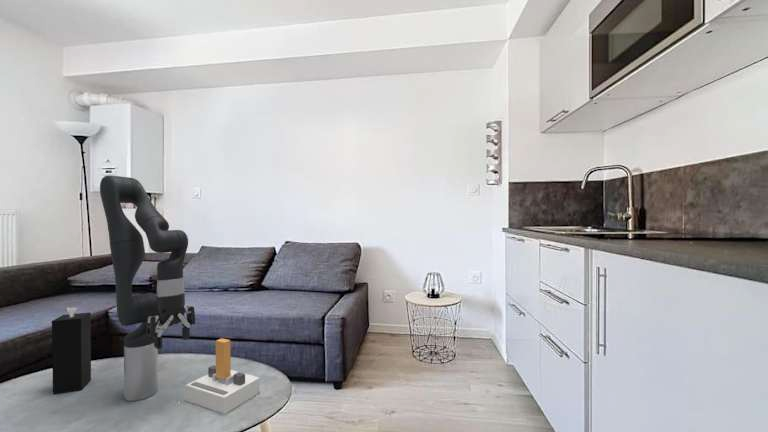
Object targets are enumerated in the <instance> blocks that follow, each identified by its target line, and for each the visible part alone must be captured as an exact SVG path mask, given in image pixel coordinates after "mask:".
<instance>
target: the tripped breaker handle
mask: <svg viewBox="0 0 768 432" xmlns="http://www.w3.org/2000/svg"><path fill="white" fill-rule="evenodd" d="M215 366H216V377H217V378H218V379H221V380H225V378H227V377H229V376H231V370H232V369H231V367H232V365H231V339H226V338H219V339H217V340H215Z"/></svg>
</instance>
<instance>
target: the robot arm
mask: <svg viewBox="0 0 768 432" xmlns="http://www.w3.org/2000/svg"><path fill="white" fill-rule="evenodd" d="M99 194H100V198H101V202H102V207H103V211H104V215H105V219H106V224H107V231H108V241H109V249H110V254H111V255H110V256H111V260H112V268H113V272H114V281H115V301H116V302H115V303H116V315H117V319H118V322H119V323H120V324H121V326H123V327H129V326H133V325H137V324H140V325H139V326H138V327H136V329H134V330H133V331H131V332H129V333H128V334H126V335H125V337H124V338H123V381H124V382H123V394H124V395H123V398H124V400H125V401H128V402H134V401H140V400H145V399H147V398H150V397H152V396H154V395H155V394H156V393H157V392H158V391H159V369H158V368H159V365H158V364H159V361H158V357H159V355H158V354H159V353H158V350H161V349H163V336H162V335H163V333H164V332H165V331H166V330H167V328H168V327H172V326H173V325H178V324H179V325H180V326H182V328H181V335H182V340H183V341H184V340H185V341H187V340H189V338H190V336H191V335H190V334H191V333H190V327H191V326H192V325H195V324H196V313H195V307H194V306H193V305H192V306H190V305H187V306H186V295H185V294H186V293H185V291H186V290H185V281H184V267H183V266H184V261H185V258H186V253H187V250H188V247H189V238H188V235H187V233H186V232H185V231H184V230H180V229H172V230H171V229H170V224H169V222H168V221H167V220H166V219H165V217H164V216H163V215H162V214H161V213H160V212H159V211H158V209H157V208H156V207H155V205H154V204H153V202H152V200H151V199H150V196H149V195H148V193H147V192H146V190H145V188H144V186H143V184H142V183H141V182H140V180H138V179H136V178H134V177H128V176H118V175H109V174H108V175H105V176H103V177H102V179H101V180H100V183H99ZM121 203H122V204H132V205H134V207H136V209H135V213H134V219H135V222H136V224H137V225H138V227H140V229H141V230H142V231H143V232H144V233H145V235H146V239H147V242H148V246H149V249H151V250H152V251H153V252H155V253H157V254H167V253H170V255H169V257H168V258H166V259H163V260H160V261H159V262H158V263H157V265H156V273H157V275H156V277H157V278H156V279H157V282H156V283H157V284H156V294H155V293H154V292H146V293H142V294H136V295H135V294H134V295H133V294H132V290H133V289H132V286H133V281H134V280H135V279H134V278H135V276H136V274H137V272H138V271H139V269H140V267H141V266H142V264H143V262H144V259H145V256H146V250H145V242H144V239H143V237H144V236H143V235H142V233H141V232H140V231H139V230H138V228H137V227H136V226H135V225H134V224H133V223H132V221H130V219H129V218H128V217H127V216H126V215H125V213H124V210H123V208H122V205H121ZM169 229H170V230H169ZM185 306H186V307H185ZM185 314H186V318H185Z"/></svg>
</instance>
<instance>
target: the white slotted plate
mask: <svg viewBox="0 0 768 432" xmlns="http://www.w3.org/2000/svg"><path fill="white" fill-rule="evenodd" d="M207 368H208V370H207V373H208V374H205V375H203V376H201V377H199V378H197V379H196V380H193V381H191V382H189V383H187V384H184V385H185V387H184V388H185V394H184V395H185V397H184V399H185V400H184V401H186V402H188V403H192V404H194V405H197V406H199V407H203V408H206V409H209V410H212V411H214V412H216V413H219V414H223V415H226V414H227V413H228V412H229V413H230V412H231V411H233V410H234V409H235V408H237V407H239V406H241V404H244V403H245V402H247V401H249V400H250V399H251V398H253V397H255V396H256V395H258V394H260V393H261V389H260V388H261V387H260V385H261V384H260V383H261V381H260V380H261V377H259V376H257V375H251V374H248V373H243V372H240V371H237V370H233V369H231V376H229V377H227V378H225V380H221V379H218V378H217V377H216V365H214V364H213V365H211V366H209V367H207Z"/></svg>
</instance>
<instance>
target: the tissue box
mask: <svg viewBox="0 0 768 432" xmlns="http://www.w3.org/2000/svg"><path fill="white" fill-rule="evenodd" d="M78 309H79V307H73V306H72V307H67V306H66V310H67V314H62V315H61V316H59V317H57V318H55V319H53V320H51V339H52V340H51V347H52V349H51V350H52V351H51V353H52V355H51V356H52V357H51V358H52V361H51V362H52V394H53V395H55V394H64V393H70V392H76V391H83V389H85V387H86V386H87V385H88V384H89V383H90V382H91V381H92V353H91V352H92V349H91V348H92V346H91V345H92V344H91V342H92V341H91V340H92V339H91V338H92V337H91V335H92V334H91V333H92V332H91V327H92V326H91V325H92V324H91V323H92V322H91V317H92V315H91V313H92V312H90V311H89V312H80V313H76V312H77V310H78Z"/></svg>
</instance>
